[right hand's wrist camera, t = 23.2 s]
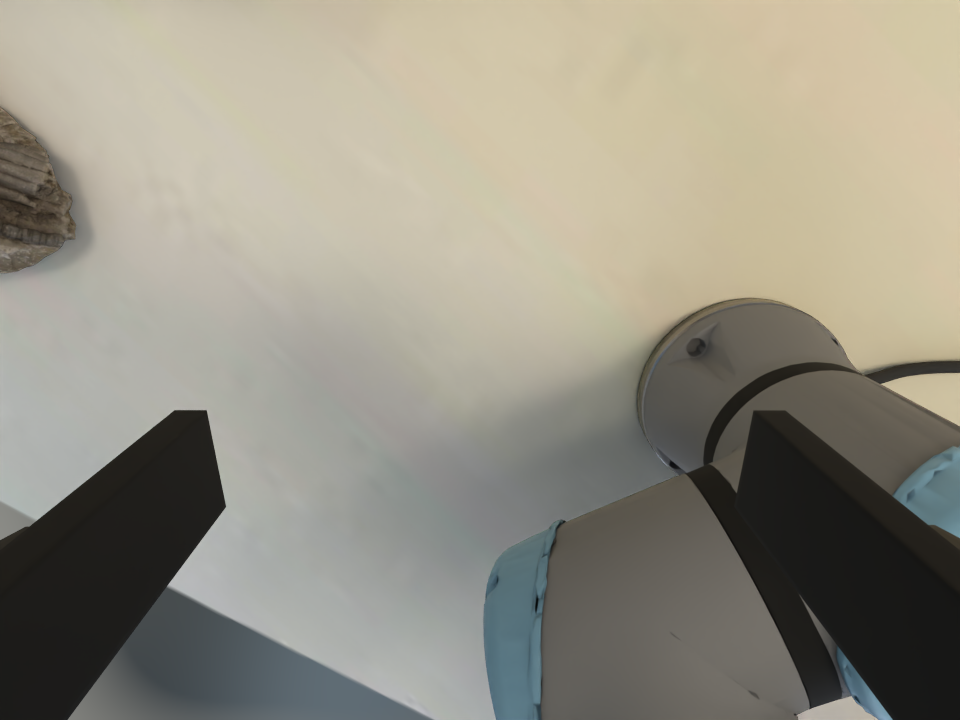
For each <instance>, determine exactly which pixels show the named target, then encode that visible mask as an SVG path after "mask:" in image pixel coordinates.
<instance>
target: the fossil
mask: <svg viewBox="0 0 960 720" xmlns="http://www.w3.org/2000/svg"><path fill="white" fill-rule="evenodd" d="M71 204H72V198H71V195H70V194H68V193H66V192H65V191H63V190H61V188H60V186H59V184H58V182H57V181H56V178H55V175H54V172H53V169H52V166H51V164H50V163H49V156H48V155H47V152H46V151H45V150H44V149H43V148H42V147H41V146H40V145H39V144H38V143H37V142H36V137H34V136H33V135H32V134H30V133H29V132H27V131H26V130H24V129H23V128H21V126H20V125H19V124H18V123H17V122H16V121H15V119H14V118H13V117H11V116H10V115H9V114H8V113H7V112H6V111H4V110H3V109H1V108H0V273H10V272H16V271H19V270H21V269H23V268H25V267H29V266H33V265H35V264H36V263H38V262H40V261H41V260H42V259H43V258H44V257H46V256H48V255H50V254H52V253H54V252H56V251H57V250H58V249H59V248H61V247H62V245H63V243H64V241H65V240H68V239H75V228H76V225H75V223H74V221H73V219H72V218H71V216H70V214H69V210H70V208H71Z"/></svg>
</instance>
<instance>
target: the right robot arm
mask: <svg viewBox="0 0 960 720" xmlns="http://www.w3.org/2000/svg"><path fill="white" fill-rule="evenodd" d="M932 373H960V361H941V362H923V363H913V364H906V365H900V366H895V367H892V368H888V369H885V370H882V371H879V372H875V373H872V374H868V375H862V374H860V373H859V372H858V371H857V370H856V368H855V367H854V366H853V365H852V363H851V362H850V361H849V359H848V358H847V356H846V353H845V351H844V350H843V348H842V346H841V345H840V343H839V342H838V340H837V339H836V338H835V337H834V335H833V334H832V333H831V332H830V331H829V330H828V329H827V328H826V327H825V326H824V325H822V324H821V323H820V322H819V321H818V320H816V319H815V318H813V317H812V316H810V315H808V314H806V313H804V312H802V311H800V310H798V309H796V308H794V307H792V306H789V305H786V304H784V303H781V302H777V301H773V300H767V299H756V298H749V299H737V300H731V301H727V302H722V303H719V304H716V305H713V306H710V307H708V308H706V309H703V310H701V311H699V312H697V313H696V314H694V315H692V316H690V317H689V318H687V319H686V320H684V321H683V322H681V323H680V324H679V325H678V326H676V327H675V328H674V329H673V330H672V331H671V332H670V333H669V334H667V336H666V337H665V338H664V339H663V340H662V341H661V342H660V344H659V345H658V346H657V347H656V349H655V350H654V352H653V353H652V355H651V357H650V358H649V360H648V362H647V364H646V366H645V368H644V371H643V374H642V376H641V380H640V383H639V389H638V397H637V408H638V416H639V421H640V424H641V427H642V430H643V432H644V435H645V436H646V438H647V440H648V442H649V443H650V445H651V447H652V448H653V450H654V451H655V453H656V454H657V455H658V457H659V458H660V459H661V460H662V461H663V462H664V463H665V464H666V465H667V466H668V467H669V468H670V469H672V470H673V471H674V472H675V473H677V474H678V475H679V476H676V477H674V478H672V479H669V480H667V481H664V482H662V483H659V484H657V485H655V486H652V487H650V488H647V489H645V490H643V491H640V492H638V493H635V494H633V495H630V496H628V497H626V498H623V499H621V500H618V501H616V502H613V503H611V504H609V505H606V506H604V507H601V508H599V509H597V510H594V511H592V512H589V513H587V514H584V515H582V516H580V517H577V518H575V519H572V520H570V521H567V522H566V521H564V520H559V521H556V522H554V523H553V524H552V525H551V526H550V528H549V529H547V530H545V531H543V532H541V533H539V534H537V535H534V536H532V537H530V538H528V539H526V540H524V541H522V542H520V543H518V544H516V545H513V546H512V547H510V548H508V549H507V550H506V551H505V552H503V553H502V554H501V556H500V557H499V558H498V559H497V561H496V563H495V564H494V566H493V568H492V570H491V573H490V576H489V579H488V583H487V588H486V598H485V604H484V620H483V621H484V648H485V659H486V668H487V675H488V682H489V688H490V693H491V698H492V703H493V708H494V712H495V717H496V720H798V717H797V715H798V714H800V713H802V712H804V711H806V710H808V709H811V708H813V707H816V706H820V705H823V704H826V703H829V702H832V701H835V700H838V699H842V698H845V697H849V696H852V697H853V699H854V700H855V702H856V703H857V704H859V705H860V706H862V707H863V708H864V710H865V711H866V712H868V713H870V714H872V715H873V716H875V717H876V718H877V719H878V720H960V426H958V425H956V424H954V423H952V422H950V421H948V420H947V419H945V418H943V417H941V416H939V415H937V414H935V413H933V412H931V411H930V410H928V409H926V408H924V407H922V406H920V405H918V404H916V403H914V402H912V401H911V400H909V399H907V398H905V397H903V396H901V395H899V394H898V393H896V392H894V391H892V390H890V389H888V388H886V387H885V386H883V385H881V384H882V383H885V382H888V381H891V380H894V379H898V378H901V377H906V376H913V375H920V374H932ZM225 507H226V505H225V500H224V495H223V490H222V485H221V480H220V475H219V470H218V465H217V460H216V455H215V450H214V445H213V440H212V435H211V430H210V425H209V420H208V415H207V410H175V411H173V412H172V413H171V414H170V415H168V416H167V417H166V418H165V419H163V420H162V421H161V422H160V423H158V424H157V425H156V426H155V427H153V428H152V429H151V430H150V431H148V432H147V433H146V434H145V435H143V436H142V437H141V438H140V439H138V440H137V441H136V442H135V443H133V444H132V445H131V446H130V447H128V448H127V449H126V450H125V451H123V452H122V453H121V454H120V455H118V456H117V457H116V458H115V459H113V460H112V461H111V462H110V463H108V464H107V465H106V466H105V467H103V468H102V469H101V470H100V471H98V472H97V473H96V474H95V475H93V476H92V477H91V478H90V479H88V480H87V481H86V482H85V483H83V484H82V485H81V486H80V487H78V488H77V489H76V490H75V491H73V492H72V493H71V494H70V495H68V496H67V497H66V498H65V499H63V500H62V501H61V502H60V503H58V504H57V505H56V506H55V507H53V508H52V509H51V510H50V511H48V512H47V513H46V514H45V515H43V516H42V517H41V518H40V519H38V520H37V521H36V522H35V523H33V524H32V525H31V526H30V527H24V528H22V529H21V530H19V531H17V532H15V533H13V534H11V535H9V536H7V537H6V538H4V539H2V540H0V720H68V718H69V717H70V716H71V714H72V713H73V712H74V710H75V709H76V707H77V706H78V705H79V703H80V702H81V701H82V699H83V698H84V697H85V695H86V694H87V693H88V691H89V690H90V689H91V687H92V686H93V685H94V683H95V682H96V681H97V679H98V678H99V677H100V675H101V674H102V673H103V671H104V670H105V669H106V667H107V666H108V665H109V663H110V662H111V660H112V659H113V658H114V657H115V655H116V654H117V652H118V651H119V650H120V648H121V647H122V646H123V644H124V643H125V642H126V640H127V639H128V638H129V636H130V635H131V634H132V632H133V631H134V630H135V628H136V627H137V626H138V624H139V623H140V622H141V620H142V619H143V617H144V616H145V615H146V614H147V612H148V611H149V610H150V608H151V607H152V605H153V604H154V603H155V601H156V600H157V599H158V597H159V596H160V595H161V593H162V592H163V591H164V589H165V588H166V587H167V585H168V584H169V583H170V581H171V580H172V579H173V577H174V576H175V575H176V573H177V572H178V571H179V569H180V568H181V567H182V565H183V564H184V563H185V561H186V560H187V559H188V557H189V556H190V554H191V553H192V552H193V550H194V549H195V548H196V546H197V545H198V544H199V542H200V541H201V540H202V538H203V537H204V536H205V534H206V533H207V532H208V530H209V529H210V528H211V526H212V525H213V524H214V522H215V521H216V520H217V518H218V517H219V516H220V514H221V513H222V512H223V510H224V509H225Z"/></svg>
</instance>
